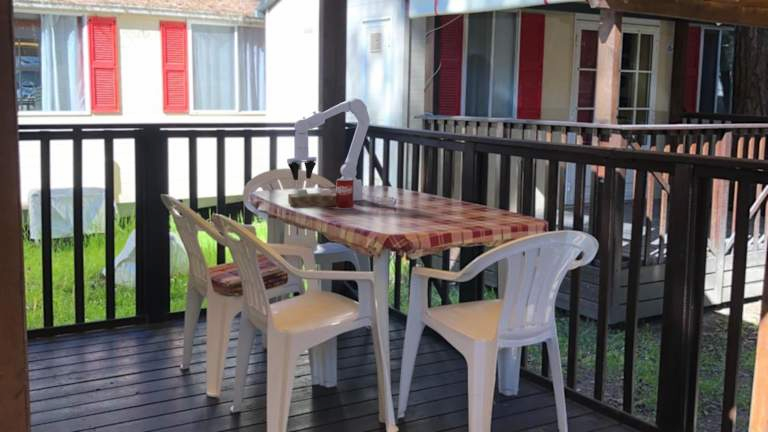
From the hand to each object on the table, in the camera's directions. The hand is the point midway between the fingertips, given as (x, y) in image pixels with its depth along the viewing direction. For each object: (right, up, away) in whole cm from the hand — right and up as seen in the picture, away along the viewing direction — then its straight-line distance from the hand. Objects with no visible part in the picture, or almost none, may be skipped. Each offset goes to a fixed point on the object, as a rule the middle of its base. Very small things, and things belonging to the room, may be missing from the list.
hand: (302, 179), depth 358 cm
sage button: (+1, -9, -11) cm, 14 cm away
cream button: (+11, -8, -8) cm, 16 cm away
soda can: (+20, -13, -19) cm, 30 cm away
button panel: (+6, -11, -9) cm, 16 cm away
